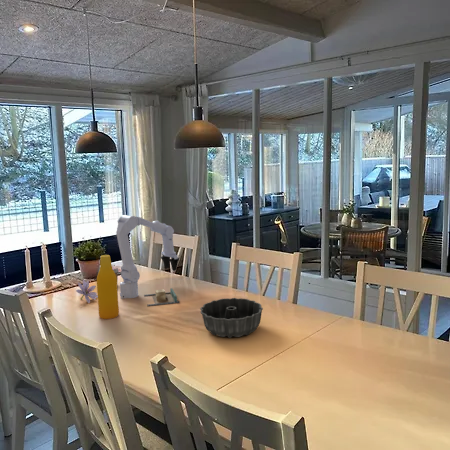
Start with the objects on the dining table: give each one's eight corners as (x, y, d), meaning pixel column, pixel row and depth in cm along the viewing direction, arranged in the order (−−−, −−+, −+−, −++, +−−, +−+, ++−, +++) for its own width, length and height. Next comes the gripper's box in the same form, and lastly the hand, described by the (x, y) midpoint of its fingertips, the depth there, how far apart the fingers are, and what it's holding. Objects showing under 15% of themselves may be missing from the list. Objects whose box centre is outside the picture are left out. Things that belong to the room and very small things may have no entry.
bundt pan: (208, 346, 170) (208, 322, 169) (195, 323, 195) (194, 301, 194) (272, 338, 177) (272, 314, 176) (251, 316, 202) (250, 295, 201)
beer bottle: (113, 319, 201) (110, 258, 197) (95, 318, 203) (91, 257, 199) (122, 313, 210) (118, 253, 206) (104, 312, 212) (100, 253, 208)
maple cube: (156, 301, 224) (156, 292, 223) (155, 298, 228) (155, 290, 227) (165, 300, 225) (165, 291, 224) (164, 297, 229) (164, 289, 229)
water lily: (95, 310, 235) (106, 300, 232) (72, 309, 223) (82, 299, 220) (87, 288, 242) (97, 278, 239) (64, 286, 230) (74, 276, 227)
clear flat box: (155, 306, 219) (155, 298, 218) (152, 297, 233) (151, 290, 232) (177, 303, 221) (176, 296, 221) (172, 295, 236) (172, 288, 235)
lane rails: (147, 308, 216) (147, 305, 216) (144, 297, 233) (144, 294, 233) (179, 304, 220) (179, 301, 220) (174, 294, 237) (173, 291, 237)
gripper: (181, 246, 244) (183, 269, 247) (167, 242, 255) (170, 264, 258) (170, 249, 240) (173, 272, 242) (157, 245, 251) (160, 268, 254)
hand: (171, 269), depth 250 cm, fingers open, 7 cm apart
